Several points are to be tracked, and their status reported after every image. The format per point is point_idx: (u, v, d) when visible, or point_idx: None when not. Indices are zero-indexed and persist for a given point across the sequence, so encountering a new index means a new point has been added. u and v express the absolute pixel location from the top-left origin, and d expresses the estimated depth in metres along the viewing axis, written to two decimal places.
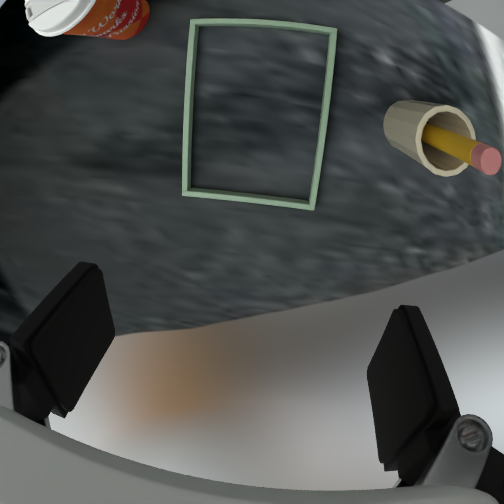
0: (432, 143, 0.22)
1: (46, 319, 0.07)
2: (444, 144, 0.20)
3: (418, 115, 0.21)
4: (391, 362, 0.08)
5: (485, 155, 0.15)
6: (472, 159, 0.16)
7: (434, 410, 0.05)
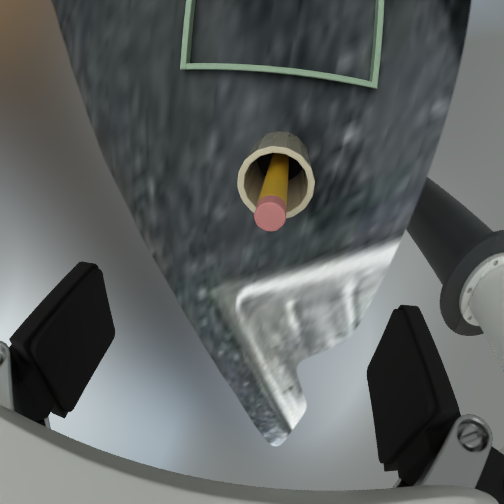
0: (269, 170, 0.25)
1: (46, 319, 0.07)
2: (272, 176, 0.22)
3: (297, 151, 0.23)
4: (391, 362, 0.08)
5: (275, 207, 0.18)
6: (266, 196, 0.19)
7: (434, 410, 0.05)
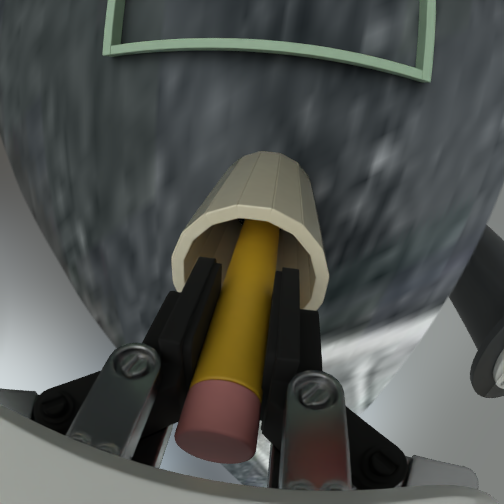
0: (240, 245, 0.13)
1: (192, 315, 0.08)
2: (239, 278, 0.10)
3: (295, 210, 0.11)
4: None
5: (225, 438, 0.06)
6: (206, 388, 0.06)
7: (274, 359, 0.07)
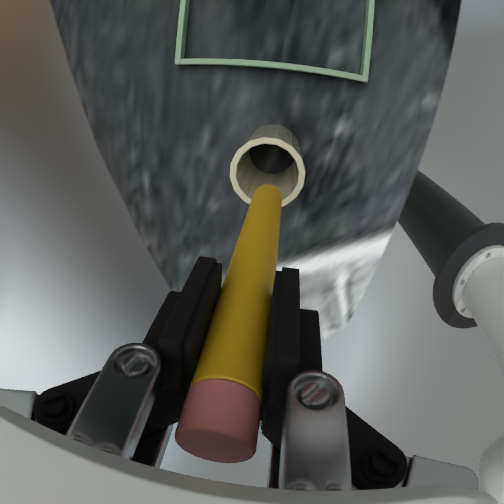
0: (240, 244, 0.13)
1: (192, 315, 0.08)
2: (240, 278, 0.10)
3: (288, 142, 0.24)
4: None
5: (225, 437, 0.06)
6: (206, 387, 0.07)
7: (274, 359, 0.07)
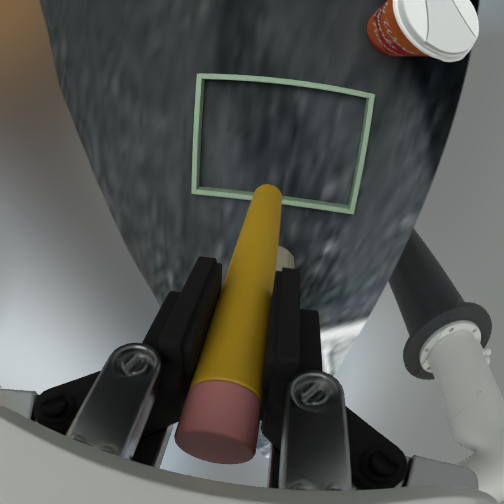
0: (240, 245, 0.13)
1: (192, 315, 0.08)
2: (239, 279, 0.10)
3: None
4: None
5: (225, 439, 0.06)
6: (206, 389, 0.06)
7: (274, 359, 0.07)
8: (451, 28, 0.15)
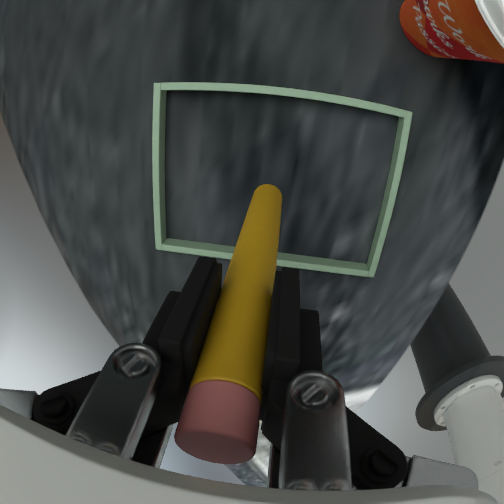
0: (240, 245, 0.13)
1: (192, 315, 0.08)
2: (239, 278, 0.10)
3: None
4: None
5: (225, 438, 0.06)
6: (206, 388, 0.06)
7: (274, 359, 0.07)
8: None
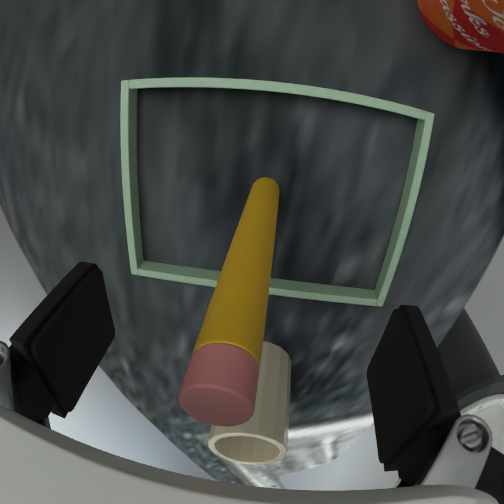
0: (239, 230, 0.13)
1: (46, 319, 0.07)
2: (239, 258, 0.11)
3: (271, 426, 0.20)
4: (391, 362, 0.08)
5: (225, 395, 0.06)
6: (208, 350, 0.07)
7: (434, 410, 0.05)
8: None
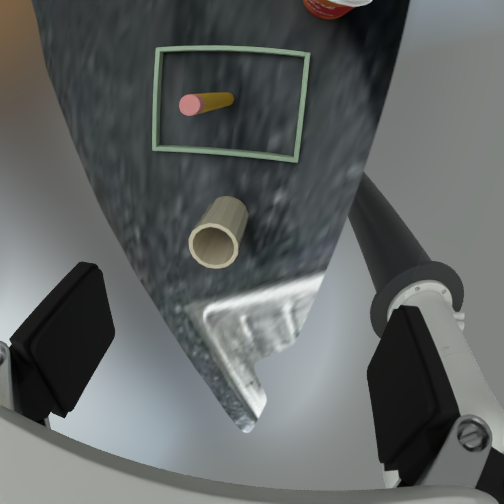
0: None
1: (46, 319, 0.07)
2: None
3: (227, 224, 0.36)
4: (391, 362, 0.08)
5: (192, 98, 0.23)
6: None
7: (434, 410, 0.05)
8: None
